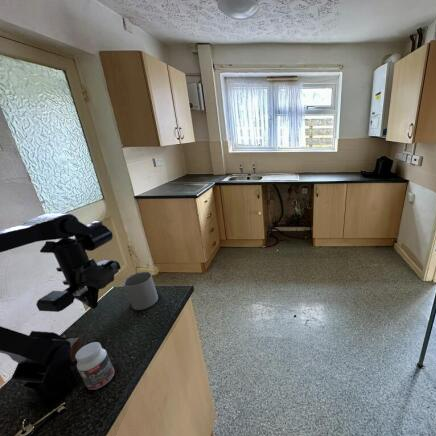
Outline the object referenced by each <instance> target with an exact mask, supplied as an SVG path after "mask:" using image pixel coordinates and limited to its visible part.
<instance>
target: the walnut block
mask: <svg viewBox="0 0 436 436" xmlns="http://www.w3.org/2000/svg"><path fill="white" fill-rule="evenodd" d="M66 340H67V341H69V342H70V343H71V346H70V364H74V363H75V362H76V361H77V360H76V357H75V355H76V353H77V352H78V351H79V350H80V349H81V348H82V347H84V345H83V342H82V341H81V339H80V337H74V338H68V339H66Z"/></svg>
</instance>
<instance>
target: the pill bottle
mask: <svg viewBox="0 0 436 436" xmlns="http://www.w3.org/2000/svg"><path fill="white" fill-rule="evenodd" d="M75 357H76V360H75V361H76V362H77V363H76V369H77V371H78V372H79V375H80V376H81V378H82V381H83V383H84V385H85V386H86V389H88V390H93V391H94V390H98V389H100V388H102V387H104V386H105V385H107V384H108V383H110V381H111V380H112V379H113V377H114V375H115V368H114V365H113V364H112V361H111V358H110V357H109V354H108V352H107V350H106V349H104V348H103V347H102V345H101V343H100V342H98V341H94V342H89V343H88V344H86V345H83V347H82V348H81V349H80V350H79V351H78V352H77V353H76V355H75Z"/></svg>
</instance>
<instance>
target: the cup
mask: <svg viewBox="0 0 436 436" xmlns="http://www.w3.org/2000/svg"><path fill="white" fill-rule="evenodd" d="M123 286H124V289H125V292H126V295H127V298H128V301H129V303H130V306H131V308H132V309H133V310H134V311H142V310H147V309H148V308H150V307H152V306H153V305H155V304H156V303H157V302H158V300H159V295H158V293H157V289H156V285H155V281H154V278H153V276H152V273H151V272H149V271H140V272H136V273H134V274H132V275H130V276H128V277H127V278H126V279H125V280H123Z"/></svg>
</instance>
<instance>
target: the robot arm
mask: <svg viewBox="0 0 436 436" xmlns="http://www.w3.org/2000/svg"><path fill="white" fill-rule="evenodd" d="M113 236H114V235H113V232H112V230H110V229H109V227H107V226H105V225H104V224H103V222H102V221H101V220H100V221H99V220H98V221H96V220H95V221H92V222H91V223H88V224H87V225H86V224H85V223H83V222H82V221H80V220H79V219H78V217H76V216H75V215H74V214H72V213H45V214H41V215H39V216H36V217H33V218H30V219H29V220H27V221H26V222H24V223H22V224H19V225H17V226H12V227H9V228H4V229H0V253H4V252H7V251H10V250H14V249H18V248H20V247H24V246H27V245H30V244H34V243H37V242H44V241H45V243H44V245H43V246H41V249H40V250H39V252H40V253H42V254H53V255H54V257H55V259H56V262H57V264H58V266H57V267H55V268H56V271H57V273H58V272H59V273H60V272H61V273H62V274H63V277H64V279H65V280H63V281H62V284H63V285H64V286H68V287H67V288H65V289H64V290H52V291H50V292H48V293H47V294H45V295H44V296H42V297H41V298H39V299H38V300H37V301H36V304H35V305H36V307H37V309H38V311H39V312H50V313H51V312H53V313H59V312H62V311H64V310H65V309H66V308H68V307H69V306H70V305H72V304H73V303H74V301H75V299H76V301H77V300H78V301H79V302H81V304H82V303H83V304H84V305H86V306H87V307H89V308H90V309H93V310H95V309H96V308H98V304H99V292H100V290H102V289H105V288H107V286H108V285H109V284H111V283H113V282H114V281H115V275H117V274H118V273H119V270H121V269H122V268H121V264H120V263H119V262H118V261H117V260H113V259H110V260H108V259H107V260H106V259H102V260H100V261H99V262H96V260H95V259H94V258H89V256H88V253H87V251H89V252H92V251H95V250H97V249H98V248H100V247H102V246H103V245H106V244H107V243H109V242H110V241H112V240H113V238H114V237H113ZM66 339H69V336H61V335H59V334H58V333H55V331H54V332H53V331H42V330H31V332H30V333H29V334H26V333H23V332H20V331H16V330H13V329H11V328H8V327H4V326H1V325H0V354H4V355H7V356H8V357H10V359H11V360H12V361H13V362H16V363H17V364H16V367H15V369H14V371H13V373H12V376H11V381H14V382H17V383H25V384H23V387H24V388H25V390H26V392H27V393H28V394H29V396H30V398H31V399H30V400H29V402H30V403H31V404H33V405H35V406H39V407H42V408H45V409H48V410H50V409H52V408H53V407H54V406H55V405H57V403H58V402H59V401H60V400H62V399H63V398H64V397H65V396H66V395H67V394H68V393H69V392H70V391H72V390H73V388H74V387H75V386H77V384H78V383H79V382H80V380H79V379H78V378H75V377H76V375H75V373H74V372H73V371H74V370H73V369H72V368H71V363H70V346H71V343H70V342H69V341H67V340H66Z"/></svg>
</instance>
